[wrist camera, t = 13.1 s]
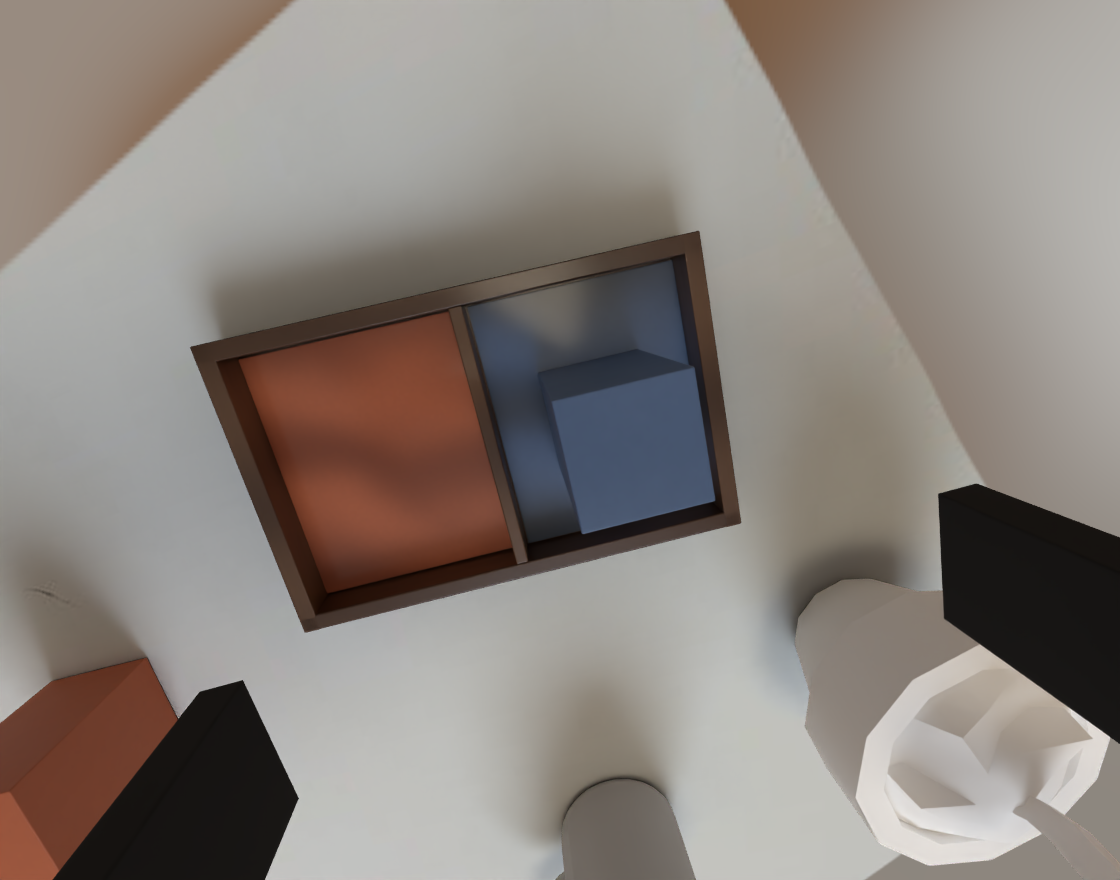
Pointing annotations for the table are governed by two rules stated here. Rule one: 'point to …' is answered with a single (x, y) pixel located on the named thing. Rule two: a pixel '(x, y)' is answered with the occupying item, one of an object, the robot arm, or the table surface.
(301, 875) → the table surface
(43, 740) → the terracotta bar
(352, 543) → the tray
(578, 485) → the blue bar
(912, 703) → the potted plant
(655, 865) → the cup
